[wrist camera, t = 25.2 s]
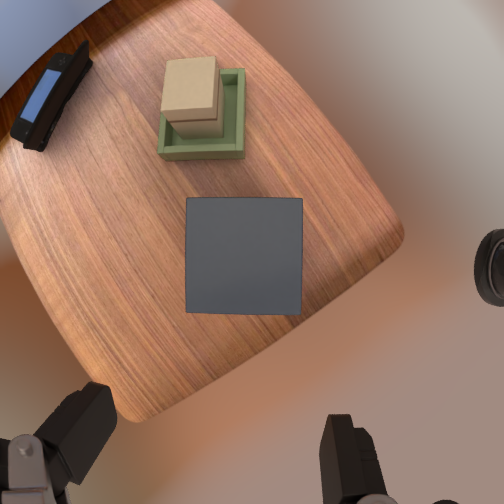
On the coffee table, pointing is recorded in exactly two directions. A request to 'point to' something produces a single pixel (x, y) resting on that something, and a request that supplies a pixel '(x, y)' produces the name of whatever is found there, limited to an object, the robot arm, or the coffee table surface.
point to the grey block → (244, 255)
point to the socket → (212, 148)
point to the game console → (50, 97)
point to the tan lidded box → (194, 97)
